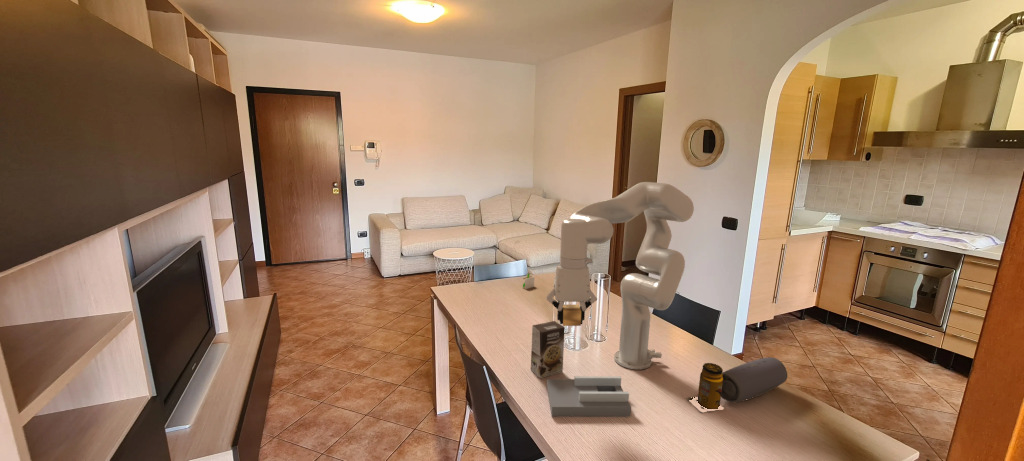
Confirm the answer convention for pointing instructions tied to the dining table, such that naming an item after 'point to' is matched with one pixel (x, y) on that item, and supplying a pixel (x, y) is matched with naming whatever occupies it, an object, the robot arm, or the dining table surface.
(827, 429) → the dining table surface
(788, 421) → the dining table surface
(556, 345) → the cookie box
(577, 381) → the trap channel
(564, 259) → the robot arm
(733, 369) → the bluetooth speaker
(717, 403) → the condiment
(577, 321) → the block
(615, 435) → the dining table surface
